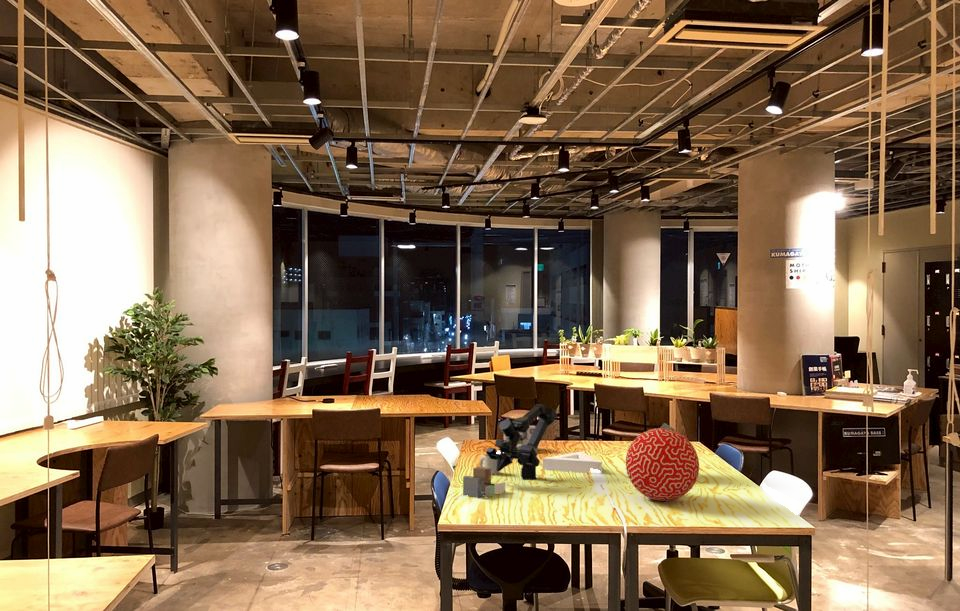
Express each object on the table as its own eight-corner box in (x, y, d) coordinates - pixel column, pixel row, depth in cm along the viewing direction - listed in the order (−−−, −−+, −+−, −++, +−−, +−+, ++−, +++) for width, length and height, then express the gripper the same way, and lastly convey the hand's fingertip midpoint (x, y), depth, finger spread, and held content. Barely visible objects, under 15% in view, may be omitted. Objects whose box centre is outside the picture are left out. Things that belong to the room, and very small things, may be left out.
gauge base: (486, 487, 323) (486, 478, 323) (506, 491, 316) (506, 481, 316) (466, 493, 311) (466, 483, 311) (486, 497, 304) (486, 487, 304)
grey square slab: (466, 493, 311) (466, 475, 311) (481, 496, 306) (481, 478, 306) (463, 495, 309) (463, 476, 309) (477, 497, 304) (477, 479, 304)
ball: (620, 491, 317) (620, 423, 317) (688, 491, 316) (688, 423, 316) (632, 508, 287) (632, 433, 287) (708, 509, 286) (707, 434, 286)
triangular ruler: (542, 470, 362) (542, 458, 362) (554, 461, 387) (553, 449, 387) (601, 475, 353) (601, 462, 353) (609, 465, 377) (609, 453, 377)
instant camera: (500, 454, 405) (500, 428, 405) (501, 448, 425) (501, 422, 426) (538, 455, 404) (538, 428, 404) (537, 448, 424) (537, 423, 425)
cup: (497, 475, 349) (497, 457, 349) (477, 474, 351) (477, 456, 352) (500, 472, 356) (500, 454, 356) (481, 471, 358) (481, 453, 359)
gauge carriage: (480, 486, 317) (480, 466, 317) (500, 490, 310) (500, 469, 311) (473, 488, 313) (473, 468, 313) (493, 492, 306) (493, 471, 307)
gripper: (487, 430, 333) (473, 457, 324) (520, 434, 321) (506, 462, 312) (497, 444, 339) (484, 472, 330) (530, 448, 327) (517, 477, 319)
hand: (497, 470), depth 323 cm, fingers closed
